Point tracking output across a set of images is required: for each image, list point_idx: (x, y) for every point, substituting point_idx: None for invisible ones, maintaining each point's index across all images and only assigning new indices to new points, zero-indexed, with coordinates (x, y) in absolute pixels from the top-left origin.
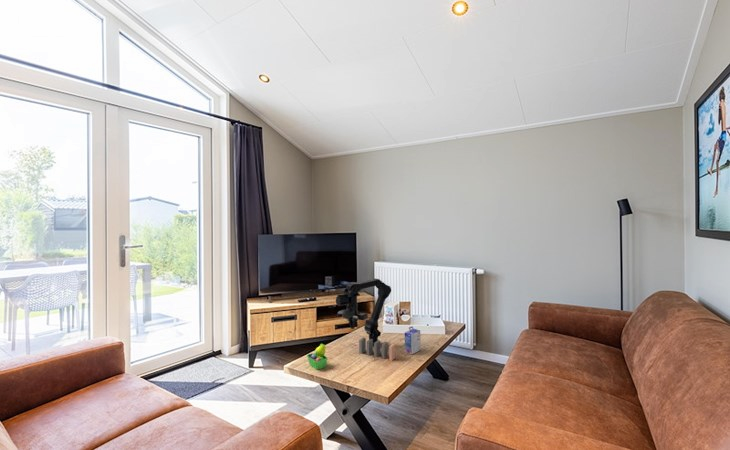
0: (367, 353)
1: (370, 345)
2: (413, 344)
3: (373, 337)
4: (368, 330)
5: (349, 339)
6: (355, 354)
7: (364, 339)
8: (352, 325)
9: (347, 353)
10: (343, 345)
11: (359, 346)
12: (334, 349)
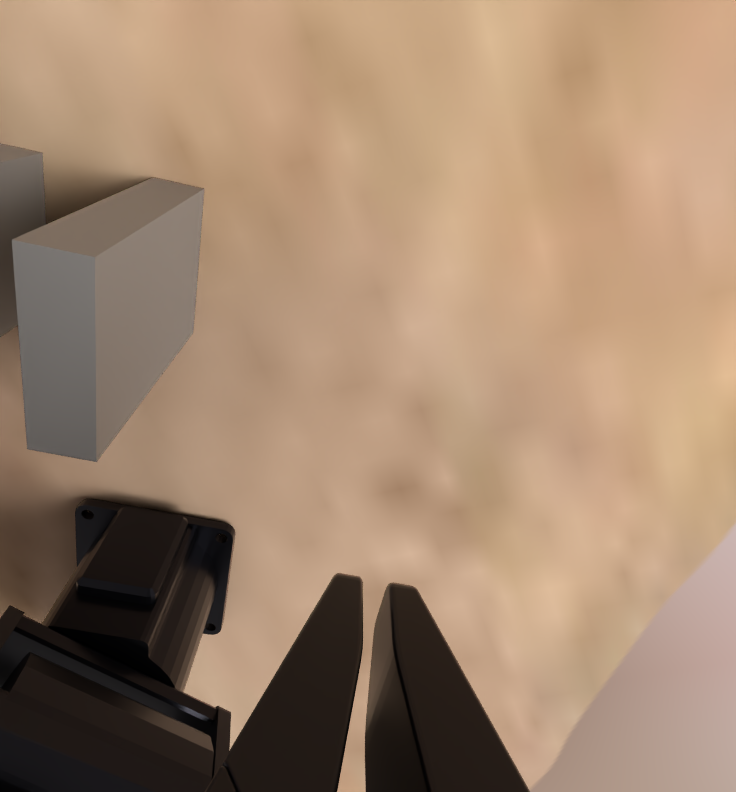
0: (4, 152)
1: None
2: None
3: (53, 615)
4: (58, 723)
5: (549, 637)
6: (247, 105)
7: (34, 383)
8: (334, 703)
9: (419, 106)
10: (589, 436)
11: (153, 213)
12: (725, 229)
